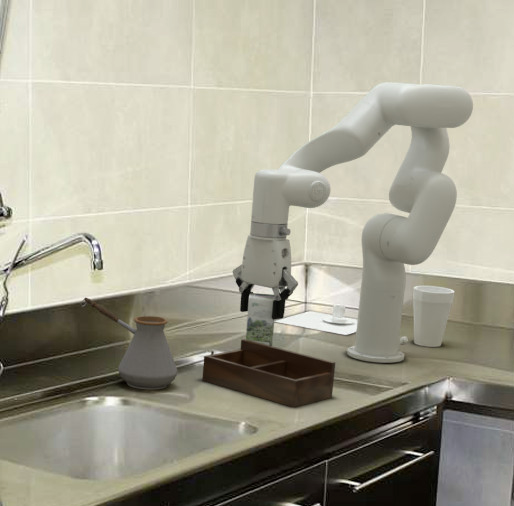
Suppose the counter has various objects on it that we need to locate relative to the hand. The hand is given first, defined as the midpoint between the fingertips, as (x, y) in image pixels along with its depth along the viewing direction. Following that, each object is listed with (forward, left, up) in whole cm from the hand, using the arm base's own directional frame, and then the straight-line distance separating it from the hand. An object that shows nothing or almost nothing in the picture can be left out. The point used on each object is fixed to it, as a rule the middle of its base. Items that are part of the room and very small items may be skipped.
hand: (261, 314), depth 254 cm
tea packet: (0, 0, -11) cm, 11 cm away
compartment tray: (+14, +14, -11) cm, 23 cm away
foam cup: (-52, +9, -11) cm, 54 cm away
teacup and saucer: (-50, -19, -11) cm, 55 cm away
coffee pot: (+33, -6, -11) cm, 35 cm away
